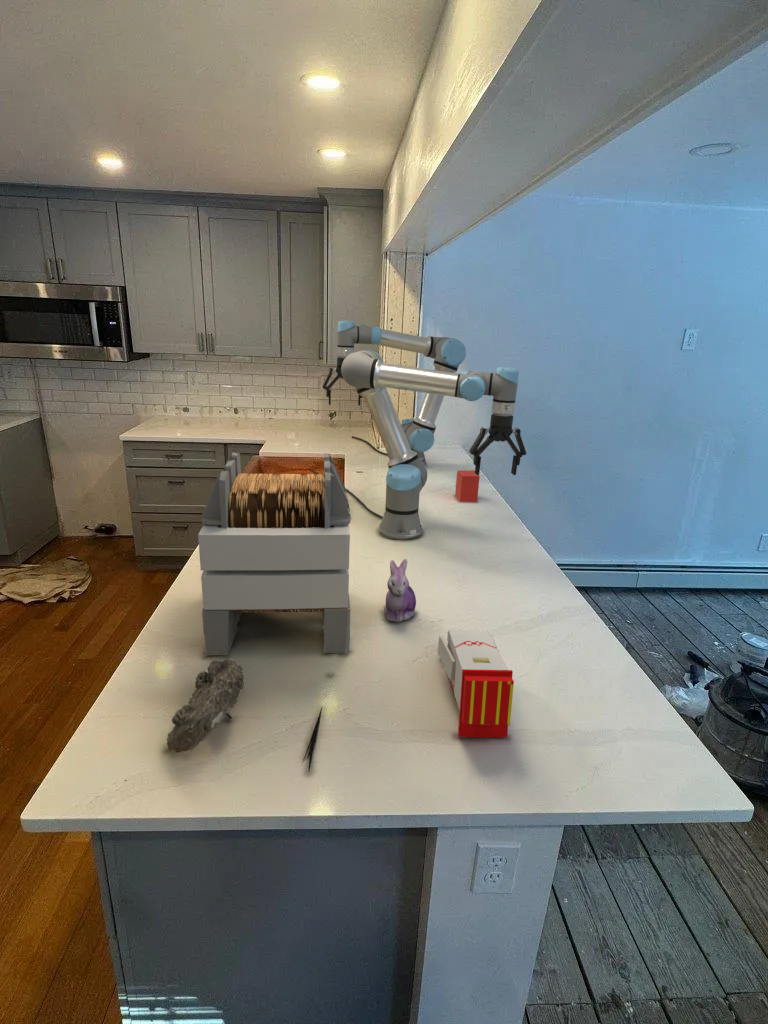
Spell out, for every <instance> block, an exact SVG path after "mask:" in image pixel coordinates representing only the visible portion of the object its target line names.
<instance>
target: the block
mask: <svg viewBox="0 0 768 1024" xmlns="http://www.w3.org/2000/svg"><path fill="white" fill-rule="evenodd" d="M480 477H481V476H480V474H479V475H476V474H475V469H474V470H473V469H472V470H466V469H465V470H463V469H461V470H459V469H457V470H456V479H455V480H456V481H455V492H454V496H455V498H456V499H457V501H458V502H459V503H478V497H479V487H480Z"/></svg>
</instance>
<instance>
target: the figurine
mask: <svg viewBox="0 0 768 1024" xmlns="http://www.w3.org/2000/svg"><path fill="white" fill-rule="evenodd" d="M407 567H408V559H406V558H404V559H403V560H402V561H401V563H400V565H399V566H398V565H397V563H396V562H395V561H394V560H393V559H391V560H390V561H389V570H390V576H389V578H388V579H387V589H388V591H387V592H386V594H385V595H386V596H385V607H384V615H385V616H386V620H387V621H391V622H395V623H400V622H402V621H406V620H409V619H410V618H411V617H413V616H414V615H415V610H416V606H417V597H416V593H415V591H414V590H413V587H411V586H410V582H409V579H408V577H407V574H406V571H407Z"/></svg>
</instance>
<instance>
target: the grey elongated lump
mask: <svg viewBox="0 0 768 1024" xmlns="http://www.w3.org/2000/svg"><path fill="white" fill-rule="evenodd" d="M243 670H244V669H243V667H242V665H240V664H237V662H236V661H235V660H234V659H232V658H231V659H227V658H226V659H224V660H223V661H222V660H217V659H212V660H211V661H210V663H209V665H208V666H207V671H201V672H199V673H198V674H197V675H196V676H195V680H194V684H195V685H194V687H195V689H194V690H193V693H192V694H191V697H190V698H189V700H188V704H184V705H182V706H181V707H180V709H177V710H176V711H175V713H174V715H173V716H172V718H171V723H172V724H173V727H172V730H171V731H170V732H168V734H167V738H166V741H167V742H166V745H167V749H168V750H169V751H173V752H174V753H176V754H178V753H182V752H188V751H189V752H192V751H193V750H195V748H196V747H197V746H199V744H200V743H201V742H203V741H204V740H205V739H206V738H207V737H208V736H209V735H210V734H211V733H212V732H214V730H215V729H217V727H218V726H219V724H220V722H221V721H222V720H223V719H224V718H225V716H226V717H227V719H229V720H233V717H232V715H230V714H229V710H230V709H231V708H234V706H235V704H236V703H237V702H238V699H239V697H240V695H241V693H242V691H243V690H245V689H244V688H245V675H244V671H243Z"/></svg>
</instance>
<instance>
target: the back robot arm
mask: <svg viewBox="0 0 768 1024" xmlns="http://www.w3.org/2000/svg"><path fill="white" fill-rule="evenodd" d="M336 334H337V335H336V356H337V358H336V368H335V367H329V373H328V374H327V377H326V378H325V380H324V382H323V384H322V386H321V387H322V389H324V390H325V391H326V393H325V394H326V398H328V406H331V403H332V401H331V400H332V398H331V397H332V390H331V388H332V387H333V386H334V385H335V383H336V382H337V381H338V380H339V379H344V378H343V376H342V373H341V367H342V363H343V361H344V359H345V358H346V357H347V356H348V355H349V354H351V353H354V352H355V344H356V345H357V344H359V345H372V346H373V345H374V346H375V345H376V346H381V347H382V346H383V347H387V348H391V349H396V350H402V351H407V352H412V353H416V354H422V355H423V356H424V357H426V358H431V359H433V362H432V363H433V367H434V369H433V370H437V371H444V372H451V373H458V370H459V366H460V365H461V364H462V363H463V362H464V361H465V359H466V357H467V349H466V346H465V344H464V343H463V342H462V341H461V340H459V339H457V338H454V337H448V336H431V335H428V336H426V337H425V336H420V335H414V334H411V333H410V334H409V333H406V332H400V331H395V330H390V329H384V328H381V327H380V326H374V325H373V326H370V325H366V324H360V325H356V324H355V321H353V320H339V321H338V322H337V331H336ZM335 372H336V374H337V375H336V376H335V377H334V378H333V379H332V381H331V382H330V383H329V381H330V379H331V378H332V375H333V374H335ZM357 395H358V394H357ZM357 397H358V398H357V405H358V406H361V399H364V397H362V396H360V395H358V396H357ZM444 398H445V395H437V394H430V393H425V394H424V398H423V400H422V404H421V406H420V409H419V412H418V415H417V416H416V417H414V418H404V419H402V420H401V426H402V428H403V431H404V433H405V436H406V438H407V440H408V443H409V445H410V448H411V450H412V451H415V452H417V454H418V457H419V459H420V461H421V462H423V464H424V465H425V466H426V463H427V460H426V456H425V452H427V451H429V450H431V448H433V446H434V443H435V435H434V434H435V432H436V429H437V426H436V424H435V422H436V420H437V418H438V415H439V412H440V409H441V406H442V404H443V401H444ZM351 438H352V439H355V440H359V441H362V442H364V443H366V444H367V445H369V446H370V447H371V448H372V449H373V450H374V451H375V452H378V453H379V454H380V455H384V456H388V454H387V452H382V451H381V450H378V449H377V448H376V447H374V446H373V445H372V444H371V443H370V442H369V441H367V440H365V439H363V438H360V437H357V436H353V435H351Z"/></svg>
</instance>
